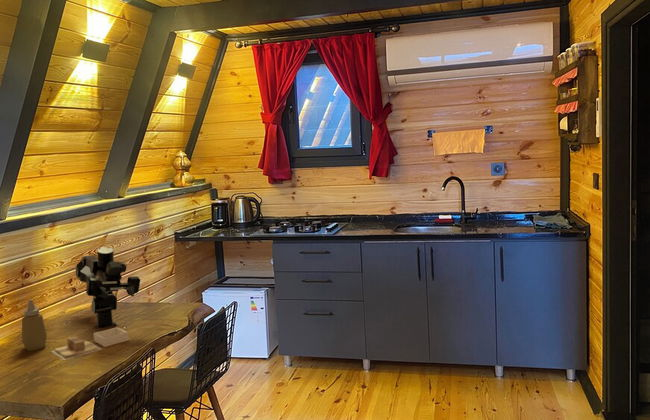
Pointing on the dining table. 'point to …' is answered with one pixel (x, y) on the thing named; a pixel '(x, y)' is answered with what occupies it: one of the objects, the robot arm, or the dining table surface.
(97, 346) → the mat
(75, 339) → the lid
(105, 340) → the dish
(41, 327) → the squeeze bottle
